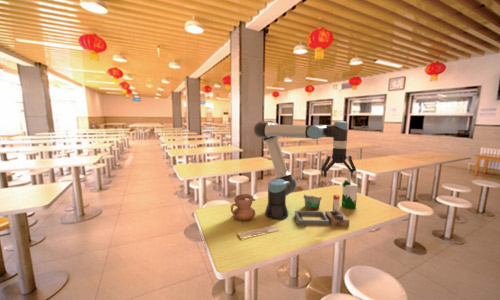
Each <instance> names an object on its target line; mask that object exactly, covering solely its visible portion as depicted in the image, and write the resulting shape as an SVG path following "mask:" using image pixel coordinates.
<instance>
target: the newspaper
mask: <svg viewBox="0 0 500 300" xmlns="http://www.w3.org/2000/svg"><path fill="white" fill-rule="evenodd" d="M278 230H279V231H280V229H279V227H278V226H276V225H270V226H269V225H268V226H264V227H261V228H257V229H253V230H248V231H247V230H246V231H244V232H239V233H237V234H238V235H237V236H239V238H240V239H241V238H244V237H248V236H253V235H258V234H262V233H268V232H272V233H274V232H273V231H276V232H279V231H278ZM268 234H269V233H268Z"/></svg>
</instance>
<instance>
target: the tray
mask: <svg viewBox="0 0 500 300" xmlns="http://www.w3.org/2000/svg"><path fill="white" fill-rule="evenodd" d="M303 216H306V217H311V216H312V217H313V216H316V217H317V216H318V217H321V218H322V219H304V218H303ZM294 218H295V220H296V222H297V225H298V227H306V226H307V225H309V226H310V225H311V226H316V225H317V226H318V225H319V226H330V223H329V220H328V218H327V217H326V216H325V212H324V211H323V210H322V211H319V210H311V211H310V210H306V211H305V210H295V211H294Z"/></svg>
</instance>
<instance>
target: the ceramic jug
mask: <svg viewBox="0 0 500 300" xmlns="http://www.w3.org/2000/svg"><path fill="white" fill-rule="evenodd" d="M233 199H234V203H232V204H231V205H230V212H231V213H232V216H233V217H234V218H235V220H238V221H250V220H251V219H253V218H254V217H255V216H256V210H255V208H253V207H252V205H253V202H255V201H256V198H254V196H253V195H252V194H249V193H240V194H237V195H235V196H233ZM234 207H237V208H235V209H234Z"/></svg>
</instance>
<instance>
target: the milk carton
mask: <svg viewBox="0 0 500 300" xmlns="http://www.w3.org/2000/svg"><path fill="white" fill-rule="evenodd" d="M347 180H348V179H347ZM347 180H345V179H344V181H343V182H342V193H341V194H342V197H341V207H343V208H344V209H346V210H347V209H349V210H350V209H351V210H352V209H353V210H354V209H355V210H356V209H357V197H358V188H359V184H356V183H355V182H352V181H351V183H349V182H347Z"/></svg>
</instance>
